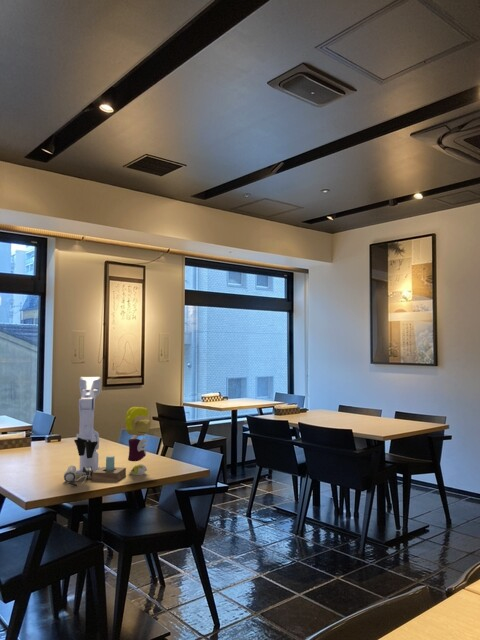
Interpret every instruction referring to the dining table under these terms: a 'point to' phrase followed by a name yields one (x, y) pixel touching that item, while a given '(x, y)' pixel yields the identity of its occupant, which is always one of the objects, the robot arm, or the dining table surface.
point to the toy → (136, 429)
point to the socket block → (108, 474)
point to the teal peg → (110, 463)
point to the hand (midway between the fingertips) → (85, 456)
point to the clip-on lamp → (71, 474)
